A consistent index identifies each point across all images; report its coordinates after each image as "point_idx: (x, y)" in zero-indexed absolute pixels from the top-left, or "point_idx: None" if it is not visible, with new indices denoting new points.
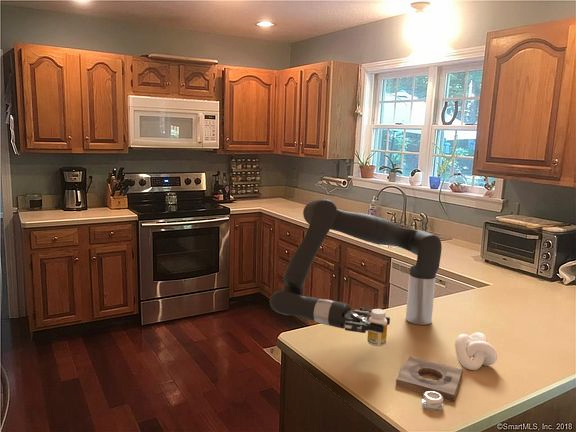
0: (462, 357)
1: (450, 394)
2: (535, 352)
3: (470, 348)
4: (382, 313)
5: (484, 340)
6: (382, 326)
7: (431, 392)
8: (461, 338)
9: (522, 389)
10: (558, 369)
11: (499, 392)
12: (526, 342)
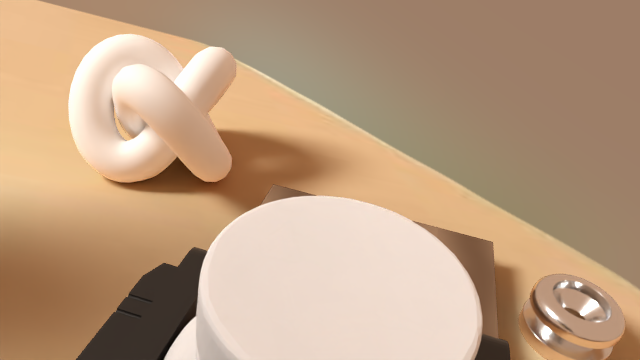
0: (222, 151)
1: (493, 253)
2: (77, 46)
3: (204, 102)
4: (419, 234)
5: (168, 51)
6: (501, 350)
7: (557, 304)
8: (170, 85)
9: (310, 116)
10: (180, 48)
11: (349, 155)
12: (4, 39)
